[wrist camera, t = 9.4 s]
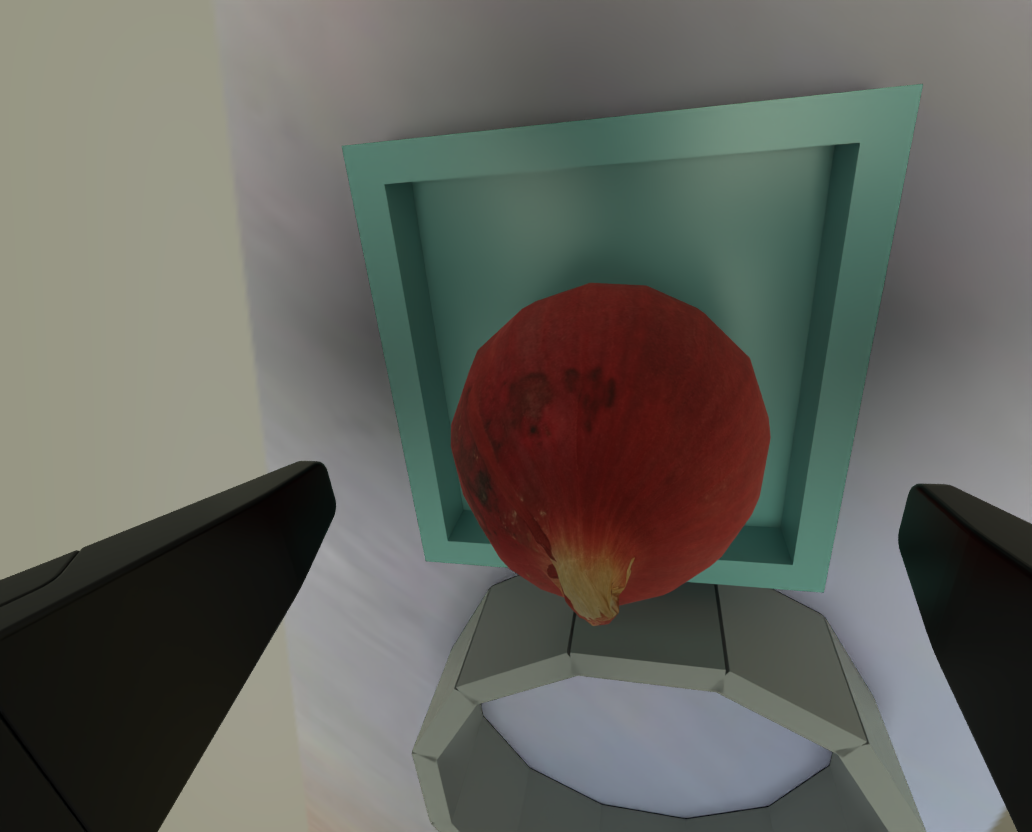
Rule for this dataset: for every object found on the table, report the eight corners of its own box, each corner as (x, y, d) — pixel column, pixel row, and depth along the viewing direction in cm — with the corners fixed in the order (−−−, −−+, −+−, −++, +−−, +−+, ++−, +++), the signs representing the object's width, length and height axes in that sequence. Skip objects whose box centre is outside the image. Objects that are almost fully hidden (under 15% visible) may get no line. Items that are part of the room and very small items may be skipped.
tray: (803, 539, 16) (823, 592, 14) (448, 518, 18) (425, 561, 16) (878, 91, 11) (923, 83, 9) (383, 143, 13) (341, 146, 12)
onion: (480, 416, 16) (332, 644, 9) (549, 211, 13) (410, 308, 6) (675, 497, 15) (683, 799, 8) (791, 305, 12) (947, 525, 6)
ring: (830, 856, 22) (864, 995, 18) (479, 794, 25) (451, 901, 22) (909, 571, 16) (984, 698, 12) (429, 538, 19) (378, 631, 15)
